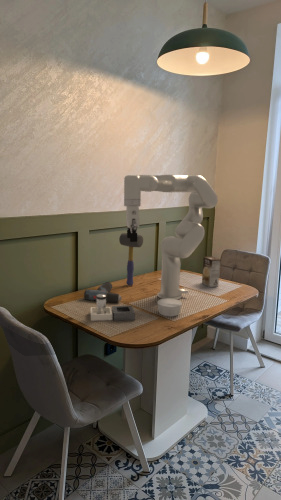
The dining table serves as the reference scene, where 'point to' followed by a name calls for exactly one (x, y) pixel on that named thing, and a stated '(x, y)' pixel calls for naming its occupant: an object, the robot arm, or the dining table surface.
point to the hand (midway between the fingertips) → (131, 239)
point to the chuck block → (123, 313)
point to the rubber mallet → (130, 254)
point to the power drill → (102, 289)
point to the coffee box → (211, 271)
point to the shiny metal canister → (101, 304)
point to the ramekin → (169, 307)
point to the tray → (99, 316)
